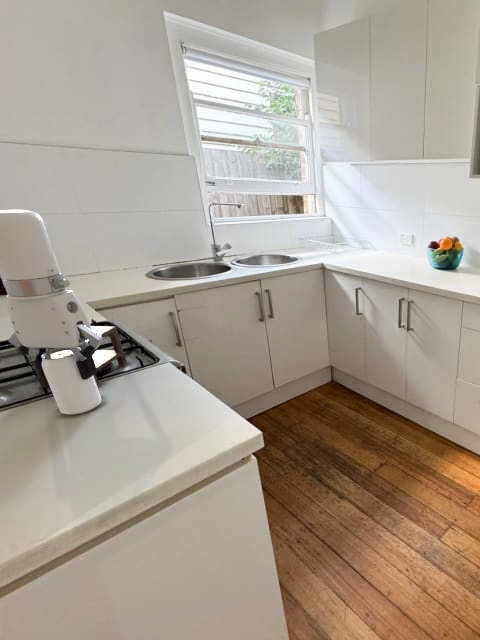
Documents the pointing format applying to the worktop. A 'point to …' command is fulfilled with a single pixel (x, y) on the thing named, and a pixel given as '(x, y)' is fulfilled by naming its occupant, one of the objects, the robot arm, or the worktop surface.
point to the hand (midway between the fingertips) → (70, 375)
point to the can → (69, 382)
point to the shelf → (99, 352)
